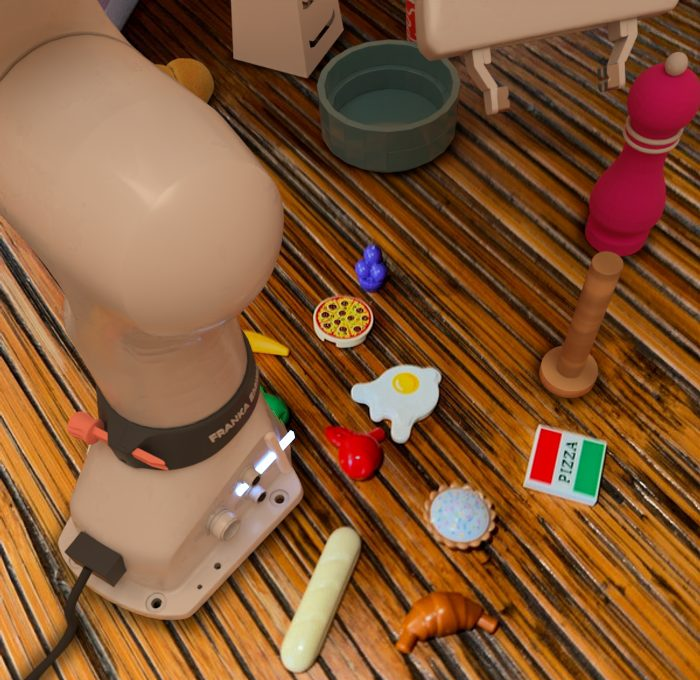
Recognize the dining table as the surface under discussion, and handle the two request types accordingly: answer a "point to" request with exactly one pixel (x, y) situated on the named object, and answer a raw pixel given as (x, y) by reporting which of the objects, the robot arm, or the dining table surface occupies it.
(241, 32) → the grater
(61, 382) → the dining table surface
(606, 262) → the stick
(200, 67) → the bread roll
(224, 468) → the robot arm
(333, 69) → the bowl
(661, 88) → the pepper mill
